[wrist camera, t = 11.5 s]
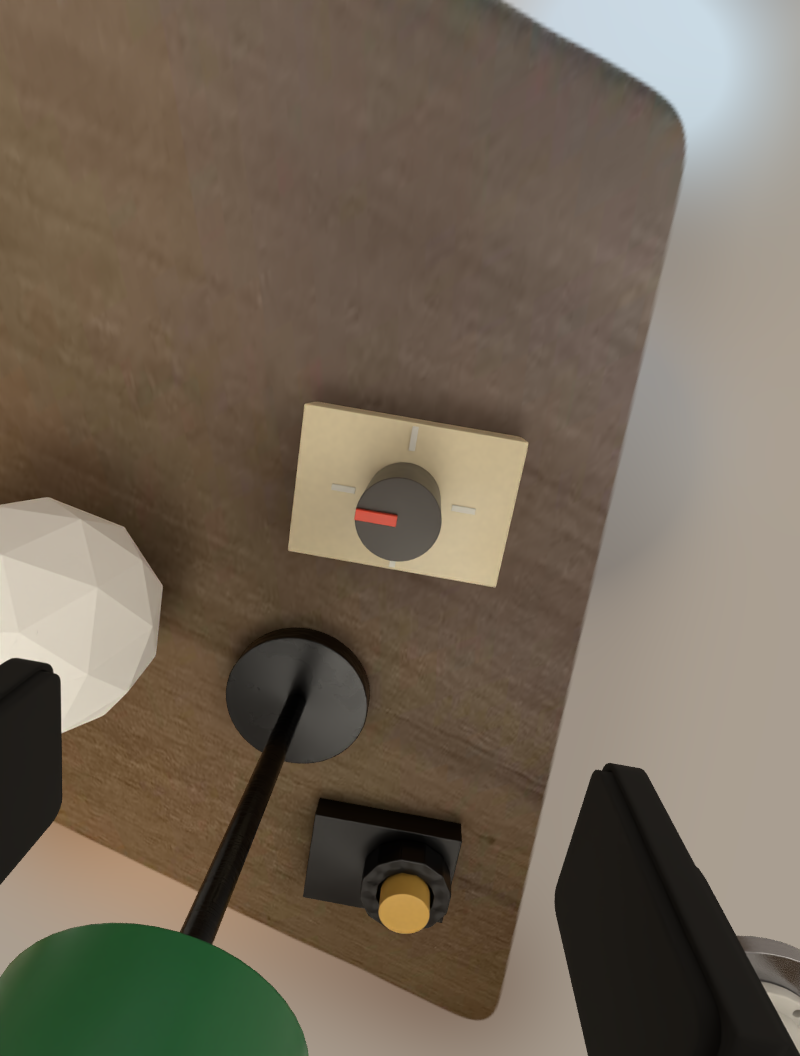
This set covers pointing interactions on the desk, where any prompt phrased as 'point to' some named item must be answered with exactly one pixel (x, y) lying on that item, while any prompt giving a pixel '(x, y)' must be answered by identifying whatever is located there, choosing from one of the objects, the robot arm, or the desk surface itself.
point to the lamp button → (404, 903)
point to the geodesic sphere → (76, 603)
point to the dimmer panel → (382, 439)
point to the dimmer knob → (399, 512)
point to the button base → (379, 855)
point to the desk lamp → (188, 956)
